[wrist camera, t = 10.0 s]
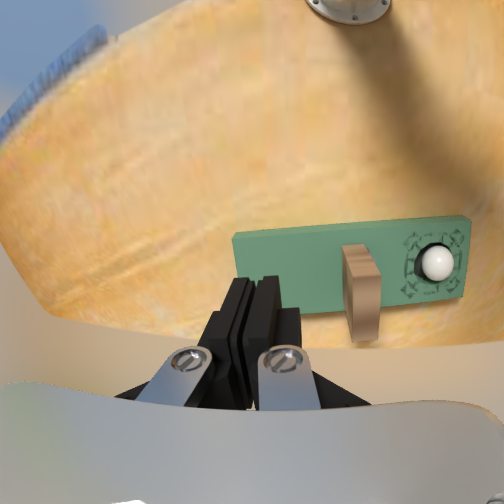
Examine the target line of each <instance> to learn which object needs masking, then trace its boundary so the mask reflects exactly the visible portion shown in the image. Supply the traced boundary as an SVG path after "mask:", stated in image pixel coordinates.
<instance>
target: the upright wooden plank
mask: <svg viewBox="0 0 504 504" xmlns="http://www.w3.org/2000/svg"><path fill="white" fill-rule="evenodd" d="M341 248H342V283H343V303H344V307H345V312H346V316H347V321H348V325H349V330H350V334H351V339H352V342H359V341H369V340H378V329H379V317H380V301H381V279H382V276H381V274H380V272H379V270H378V268H377V267H376V261H375V259H374V258H373V256H372V254H371V252H370V251H369V249H368V248H366V247H365V245H364V244H354V245H342V246H341Z"/></svg>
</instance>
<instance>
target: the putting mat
mask: <svg viewBox="0 0 504 504" xmlns="http://www.w3.org/2000/svg"><path fill="white" fill-rule="evenodd" d="M470 234H471V220H469V219H467V218H466V217H464V216H445V217H428V218H412V219H397V220H383V221H369V222H355V223H342V224H329V225H317V226H304V227H292V228H281V229H269V230H258V231H247V232H236V233H235V235H234V236H233V238H232V244H233V250H234V256H235V262H236V268H237V274H238V278H241V277H249V279H250V281H253V280H254V281H255V284H256V286H257V283H258V280H263V277H264V276H272V275H278V276H279V282H280V292H281V301H282V308H293V307H299V308H300V314H307V313H321V312H334V311H345V307H344V303H343V283H342V248H341V246H342V245H354V244H364V245H365V247H366V248H368V249H369V251H370V252H371V254H372V256H373V258H374V259H375V261H376V267H377V268H378V270H379V272H380V274H381V276H382V279H381V301H380V307H387V306H396V305H405V304H413V303H421V302H429V301H436V300H443V299H450V298H457V297H463V292H464V286H465V279H466V272H467V264H468V255H469V245H470ZM433 246H443V247H445V248H447V249H448V250H449V251H450V252H451V254H452V256H453V259H454V267H453V270H452V272H451V274H450V275H449V276H448V277H447V278H446V279H444V280H441V281H434V280H431V279H430V278H428V277H427V276H426V275H425V273H424V272H423V269H422V257H423V255H424V253H425V252H426V251H427V250H428V249H429V248H431V247H433Z"/></svg>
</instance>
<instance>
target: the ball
mask: <svg viewBox="0 0 504 504" xmlns="http://www.w3.org/2000/svg"><path fill="white" fill-rule="evenodd" d="M453 267H454V259H453V256H452V254H451V252H450V251H449V250H448V249H447V248H445V247H443V246H433V247H431V248H429V249H428V250H427V251H426V252H425V253H424V255H423V257H422V269H423V272H424V273H425V275H426V276H427V277H428V278H430V279H431V280H434V281H441V280H444V279H446V278H447V277H448V276H449V275H450V274H451V272H452V270H453Z"/></svg>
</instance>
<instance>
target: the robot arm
mask: <svg viewBox="0 0 504 504" xmlns="http://www.w3.org/2000/svg"><path fill="white" fill-rule="evenodd" d="M306 1H307V3H308V4H309V5H310V6H311V7H312V8H313V9H314V10H315V11H316V12H318V13H319V14H321V15H322V16H324V17H326V18H328V19H330V20H333V21H336V22H339V23H343V24H349V25H360V24H367V23H370V22H373V21H375V20H377V19H379V18H380V17H381V16H382V15H383V14H384V13H385V12H386V10H387V9H388V7H389V5H390V0H306ZM314 3H317V5H316V4H314ZM383 4H384V5H383ZM353 19H355V20H356V21H355V20H353ZM253 400H254V404H255V408H256V411H253V410H252V411H251V410H250V411H249V410H246V409H251V408H252V404H253ZM0 504H504V425H503V423H502V422H501V421H500V420H499V419H498V418H497V417H496V416H495V415H494V414H493V413H492V412H490V411H489V410H487V409H485V408H483V407H481V406H477V405H473V404H469V403H464V402H455V401H446V400H422V401H409V402H408V401H407V402H398V403H389V404H379V405H371V404H370V403H368V402H367V401H365V400H363V399H361V398H359V397H358V396H356V395H354V394H352V393H350V392H349V391H347V390H345V389H343V388H341V387H340V386H338V385H336V384H334V383H333V382H331V381H329V380H327V379H326V378H324V377H322V376H321V375H319V374H317V373H315V372H314V371H312V370H311V365H310V362H309V357H308V355H307V353H306V352H305V351H304V350H303V349H302V335H301V318H300V308H299V307H293V308H282V301H281V292H280V282H279V276H278V275H272V276H264V277H263V280H258V283H257V286H256V284H255V281H254V280H253V281H250V279H249V277H241V278H234V279H233V282H232V284H231V286H230V288H229V291H228V293H227V295H226V297H225V300H224V302H223V304H222V307H221V309H220V311H213V313H212V315H211V317H210V319H209V321H208V323H207V325H206V328H205V330H204V332H203V334H202V336H201V338H200V340H199V343H198V345H197V346H190V347H184V348H182V349H179V350H177V351H176V352H174V353H173V354H172V355H170V356H169V357H168V359H167V360H166V361H165V363H164V364H163V365H162V366H161V368H160V369H159V370H158V372H157V373H156V374H155V375H154V377H153V378H152V379H151V380H150V381H148V382H146V383H144V384H142V385H139V386H137V387H135V388H133V389H130V390H128V391H126V392H123V393H121V394H119V395H116V396H115V397H109V396H104V395H98V394H93V393H88V392H83V391H79V390H74V389H70V388H65V387H60V386H55V385H51V384H45V383H38V382H17V383H11V384H7V385H4V386H2V387H0Z"/></svg>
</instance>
